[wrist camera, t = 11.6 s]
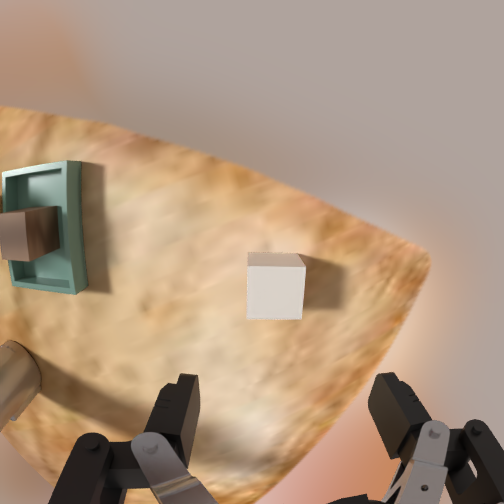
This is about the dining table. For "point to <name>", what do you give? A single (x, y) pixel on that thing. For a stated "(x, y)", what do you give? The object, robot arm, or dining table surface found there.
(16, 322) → the dining table surface
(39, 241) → the walnut block
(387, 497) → the robot arm
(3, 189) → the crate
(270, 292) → the cream box
